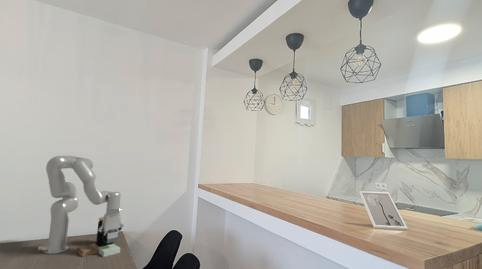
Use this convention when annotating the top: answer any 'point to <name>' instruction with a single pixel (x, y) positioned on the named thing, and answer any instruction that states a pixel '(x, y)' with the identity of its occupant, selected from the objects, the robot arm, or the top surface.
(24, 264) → the top surface
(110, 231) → the housing
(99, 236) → the coffee jar
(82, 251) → the stand
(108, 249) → the stand
